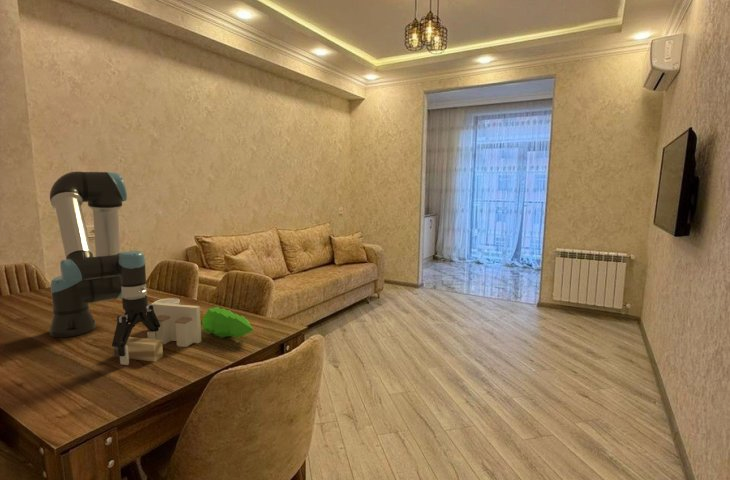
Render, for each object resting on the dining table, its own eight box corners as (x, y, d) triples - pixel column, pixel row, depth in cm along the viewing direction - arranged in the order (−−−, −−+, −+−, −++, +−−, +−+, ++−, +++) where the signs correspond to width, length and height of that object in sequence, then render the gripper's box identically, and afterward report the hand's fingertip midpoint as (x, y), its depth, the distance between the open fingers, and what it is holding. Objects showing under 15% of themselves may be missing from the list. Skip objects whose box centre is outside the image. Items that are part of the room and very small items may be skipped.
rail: (154, 361, 135) (153, 344, 134) (114, 356, 138) (113, 340, 138) (163, 356, 139) (162, 340, 138) (124, 352, 142) (122, 336, 141)
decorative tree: (208, 298, 166) (258, 308, 150) (219, 320, 171) (268, 332, 155) (186, 315, 158) (236, 328, 142) (198, 337, 163) (248, 352, 147)
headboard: (144, 342, 151) (142, 307, 149) (156, 336, 157) (153, 302, 155) (191, 347, 147) (189, 311, 145) (201, 341, 153) (199, 306, 151)
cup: (170, 331, 162) (169, 305, 161) (149, 329, 164) (147, 304, 163) (186, 323, 172) (184, 298, 170) (166, 321, 174) (164, 297, 172)
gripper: (115, 308, 123) (120, 373, 126) (168, 288, 147) (172, 343, 150) (94, 306, 125) (100, 370, 128) (150, 287, 148) (154, 341, 151)
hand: (139, 356), depth 139 cm, fingers open, 12 cm apart
